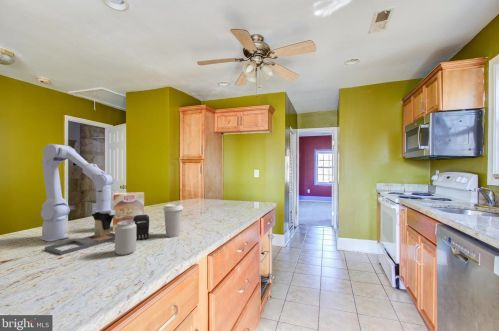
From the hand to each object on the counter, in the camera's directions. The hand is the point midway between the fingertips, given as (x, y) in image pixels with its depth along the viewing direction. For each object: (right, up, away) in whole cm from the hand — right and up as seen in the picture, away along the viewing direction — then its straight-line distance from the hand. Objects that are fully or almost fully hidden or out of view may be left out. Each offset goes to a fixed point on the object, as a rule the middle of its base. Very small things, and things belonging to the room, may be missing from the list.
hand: (103, 228), depth 108 cm
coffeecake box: (+2, -5, +19) cm, 20 cm away
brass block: (0, -3, 0) cm, 3 cm away
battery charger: (+18, -5, 0) cm, 19 cm away
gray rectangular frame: (-3, -5, -6) cm, 8 cm away
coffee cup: (+30, -5, +7) cm, 32 cm away
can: (+20, -5, -17) cm, 26 cm away
